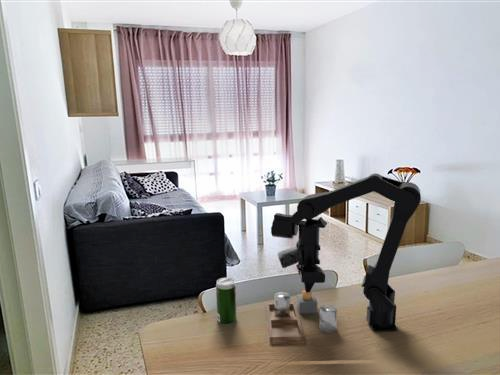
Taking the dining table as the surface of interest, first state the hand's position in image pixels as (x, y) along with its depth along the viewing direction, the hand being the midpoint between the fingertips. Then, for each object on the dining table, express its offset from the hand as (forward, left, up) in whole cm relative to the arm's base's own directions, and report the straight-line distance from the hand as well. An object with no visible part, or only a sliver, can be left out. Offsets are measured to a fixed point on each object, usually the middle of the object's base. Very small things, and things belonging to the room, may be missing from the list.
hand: (307, 292), depth 111 cm
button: (0, 0, -2) cm, 2 cm away
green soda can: (+23, +5, -6) cm, 24 cm away
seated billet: (+8, +3, -5) cm, 10 cm away
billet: (-4, +10, -6) cm, 12 cm away
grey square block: (0, 0, -6) cm, 6 cm away
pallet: (+8, +8, -6) cm, 12 cm away
